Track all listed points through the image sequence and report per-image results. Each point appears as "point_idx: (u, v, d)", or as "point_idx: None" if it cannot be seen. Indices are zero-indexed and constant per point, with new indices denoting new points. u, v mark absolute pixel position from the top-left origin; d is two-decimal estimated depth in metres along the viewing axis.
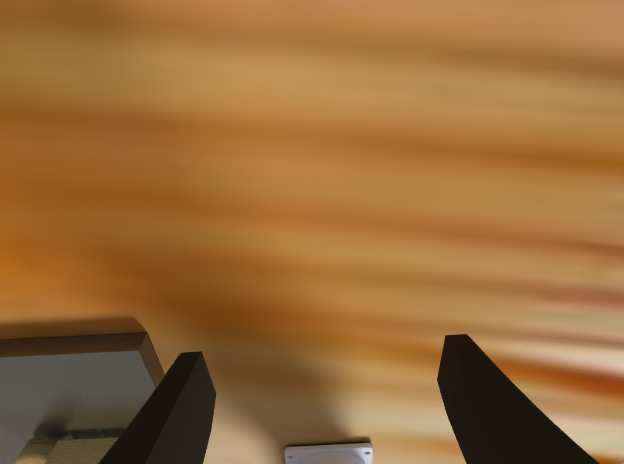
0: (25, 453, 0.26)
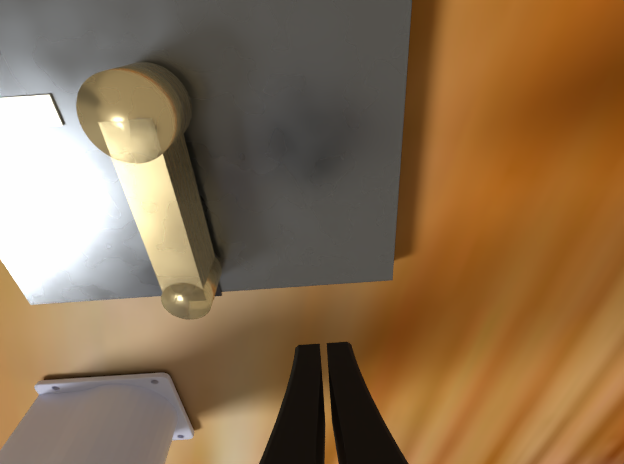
0: (178, 100, 0.12)
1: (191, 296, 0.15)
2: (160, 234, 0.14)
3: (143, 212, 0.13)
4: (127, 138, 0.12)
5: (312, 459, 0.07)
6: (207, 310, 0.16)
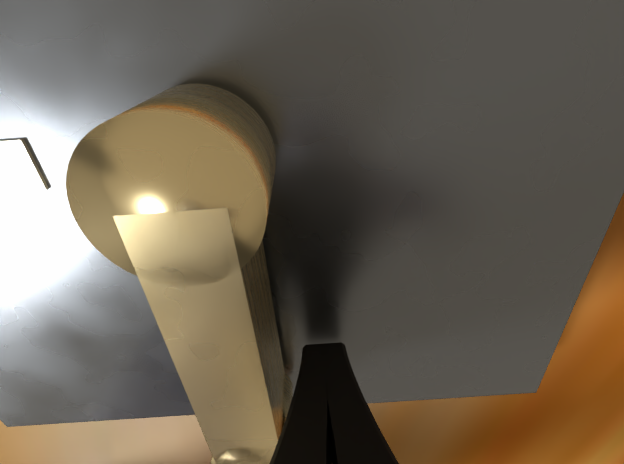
0: (266, 158, 0.06)
1: (260, 461, 0.09)
2: (220, 387, 0.08)
3: (192, 358, 0.07)
4: (172, 244, 0.06)
5: (323, 458, 0.07)
6: None
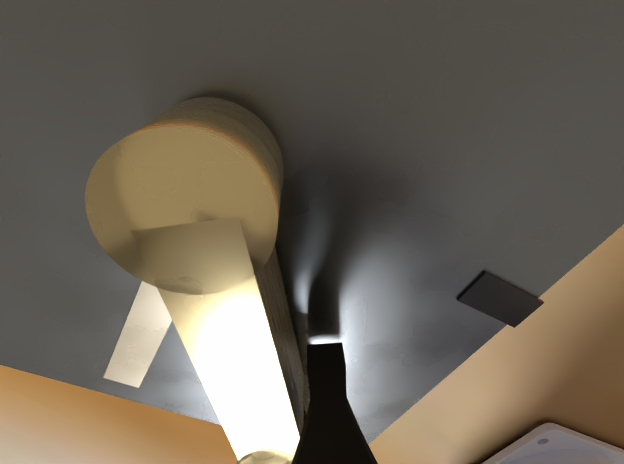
0: (274, 165, 0.07)
1: (284, 463, 0.10)
2: (242, 391, 0.08)
3: (213, 364, 0.07)
4: (189, 254, 0.06)
5: (345, 457, 0.07)
6: None
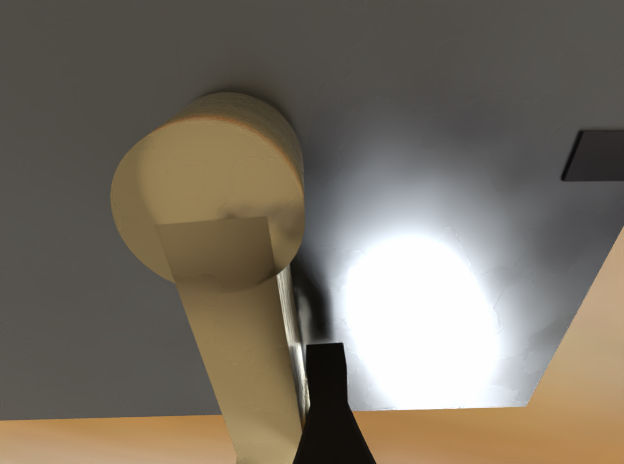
0: (299, 165, 0.07)
1: None
2: (250, 392, 0.08)
3: (224, 363, 0.07)
4: (212, 251, 0.06)
5: (347, 457, 0.07)
6: None
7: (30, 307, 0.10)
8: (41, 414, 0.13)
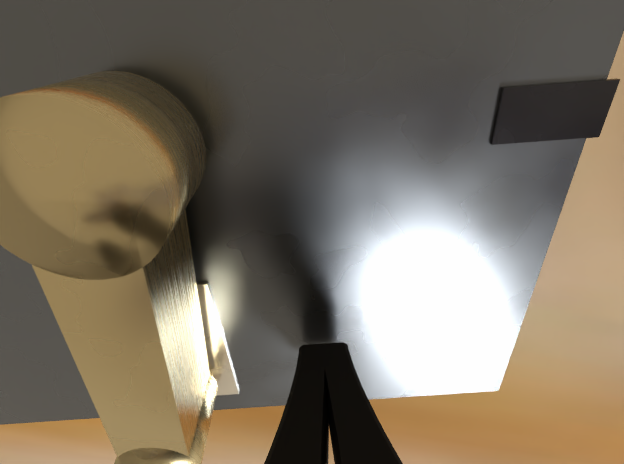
0: (186, 157, 0.06)
1: None
2: (123, 386, 0.07)
3: (93, 354, 0.07)
4: (70, 233, 0.06)
5: (317, 459, 0.07)
6: None
7: None
8: (3, 419, 0.13)
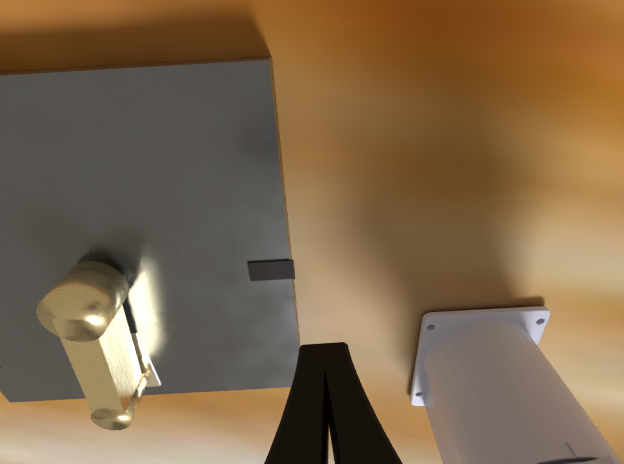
0: (116, 296, 0.17)
1: (115, 416, 0.20)
2: (93, 380, 0.18)
3: (81, 367, 0.18)
4: (73, 328, 0.16)
5: (317, 459, 0.07)
6: (127, 425, 0.21)
7: (22, 343, 0.21)
8: (34, 398, 0.24)
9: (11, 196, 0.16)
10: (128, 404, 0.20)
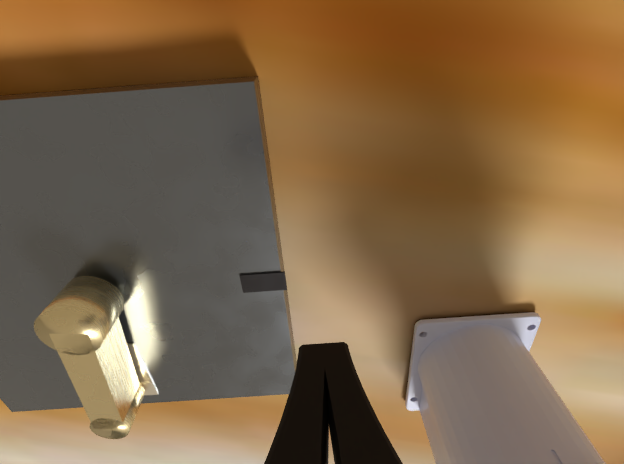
0: (111, 309, 0.18)
1: (113, 426, 0.20)
2: (91, 391, 0.19)
3: (78, 379, 0.18)
4: (69, 342, 0.17)
5: (317, 459, 0.07)
6: (125, 434, 0.21)
7: (22, 355, 0.21)
8: (35, 407, 0.24)
9: (8, 215, 0.16)
10: (126, 413, 0.21)
